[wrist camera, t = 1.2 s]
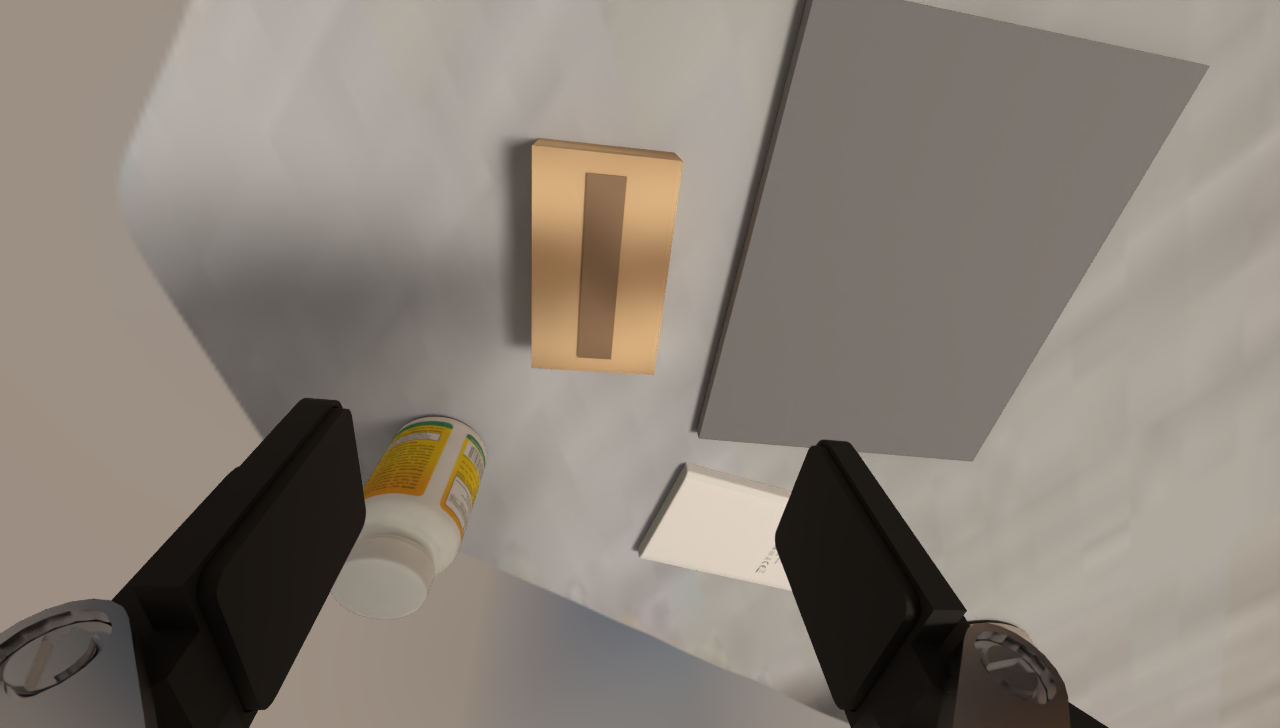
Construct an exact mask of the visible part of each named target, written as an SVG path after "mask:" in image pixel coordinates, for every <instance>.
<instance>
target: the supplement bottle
mask: <svg viewBox="0 0 1280 728" xmlns="http://www.w3.org/2000/svg"><path fill="white" fill-rule="evenodd" d="M485 465H486V450H485V446H484V444H483V442H482V440H481V439H480V437H479V436H478V435H477V433H476V432H475V431H473V430H472V429H471V428H470V427H468V426H467V425H465V424H463V423H461V422H459V421H457V420H454V419H450V418H446V417H425V418H420V419H416V420H414V421H412V422H410V423H408V424H406V425H405V426H404V427H403V428H402V429H400V430H399V432H398V433H397V434H396V436H395V437H394V439H393V441H392V442H391V444H390V446H389V447H388V449H387V450H386V452H385V454H384V455H383V457H382V459H381V460H380V462H379V464H378V465H377V467H376V469H375V470H374V472H373V474H372V475H371V477H370V479H369V480H368V482H367V484H366V485H365V487H364V489H363V493H364V499H365V506H366V519H365V523H364V526H363V529H362V531H361V533H360V535H359V537H358V539H357V541H356V543H355V545H354V547H353V548H352V550H351V552H350V554H349V556H348V558H347V560H346V562H345V564H344V566H343V568H342V570H341V572H340V574H339V576H338V577H337V579H336V581H335V583H334V585H333V587H332V589H331V594H332V595H333V597H334V598H335V600H336V601H337V602H338V603H339V604H340V605H341V606H343V607H344V608H346V609H347V610H349V611H351V612H353V613H355V614H358V615H360V616H363V617H369V618H373V619H396V618H401V617H404V616H407V615H409V614H412V613H413V612H415V611H416V610H418V609H419V608H420V607H421V606H422V605H423V603H424V602H425V600H426V598H427V595H428V592H429V589H430V587H431V584H432V582H433V580H434V576H435V575H437V574H439V573H440V572H442V571H443V570H444V569H445V568H447V567H448V566H449V565H450V563H451V562H452V561H453V559H454V558H455V556H456V554H457V553H458V550H459V547H460V544H461V542H462V539H463V535H464V532H465V529H466V526H467V522H468V519H469V516H470V513H471V510H472V507H473V504H474V500H475V497H476V494H477V491H478V488H479V485H480V482H481V479H482V475H483V472H484V469H485Z"/></svg>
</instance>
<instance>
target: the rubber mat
mask: <svg viewBox="0 0 1280 728" xmlns="http://www.w3.org/2000/svg"><path fill="white" fill-rule="evenodd" d="M1208 68H1209V66H1208V65H1204V64H1199V63H1194V62H1190V61H1185V60H1180V59H1176V58H1171V57H1166V56H1161V55H1157V54H1152V53H1147V52H1143V51H1138V50H1133V49H1129V48H1124V47H1119V46H1115V45H1110V44H1105V43H1101V42H1096V41H1091V40H1087V39H1082V38H1077V37H1073V36H1068V35H1063V34H1058V33H1054V32H1049V31H1044V30H1040V29H1035V28H1030V27H1026V26H1021V25H1016V24H1012V23H1007V22H1002V21H998V20H993V19H988V18H984V17H979V16H974V15H970V14H965V13H960V12H955V11H951V10H946V9H941V8H937V7H932V6H927V5H923V4H918V3H913V2H909V1H904V0H806V4H805V8H804V12H803V16H802V20H801V24H800V28H799V32H798V35H797V39H796V43H795V47H794V51H793V55H792V59H791V63H790V67H789V71H788V75H787V79H786V83H785V86H784V90H783V94H782V98H781V102H780V106H779V110H778V114H777V118H776V122H775V126H774V130H773V134H772V137H771V141H770V145H769V149H768V153H767V157H766V161H765V165H764V169H763V173H762V177H761V181H760V184H759V188H758V192H757V196H756V200H755V204H754V208H753V212H752V216H751V220H750V224H749V228H748V232H747V235H746V239H745V243H744V247H743V251H742V255H741V259H740V263H739V267H738V271H737V275H736V279H735V282H734V286H733V290H732V294H731V298H730V302H729V306H728V310H727V314H726V318H725V322H724V326H723V330H722V333H721V337H720V341H719V345H718V349H717V353H716V357H715V361H714V365H713V369H712V373H711V377H710V381H709V384H708V388H707V392H706V396H705V400H704V404H703V408H702V412H701V416H700V420H699V424H698V428H697V433H698V437H699V439H711V440H723V441H735V442H747V443H759V444H771V445H782V446H794V447H806V448H810V447H811V446H814V445H817V443H818V442H819V441H820V440H823V439H825V440H837V441H847V442H850V443H851V444H852V446H853V447H854V448H855V450H856V451H857V452H866V453H878V454H890V455H902V456H913V457H925V458H937V459H949V460H961V461H973V460H974V458H975V457H976V455H977V453H978V452H979V450H980V448H981V447H982V445H983V443H984V442H985V440H986V438H987V437H988V435H989V433H990V432H991V430H992V428H993V427H994V425H995V423H996V422H997V420H998V418H999V417H1000V415H1001V413H1002V412H1003V410H1004V408H1005V407H1006V405H1007V403H1008V402H1009V400H1010V398H1011V397H1012V395H1013V393H1014V392H1015V390H1016V388H1017V387H1018V385H1019V383H1020V382H1021V380H1022V378H1023V377H1024V375H1025V373H1026V372H1027V370H1028V368H1029V367H1030V365H1031V363H1032V362H1033V360H1034V358H1035V357H1036V355H1037V353H1038V352H1039V350H1040V348H1041V347H1042V345H1043V343H1044V342H1045V340H1046V338H1047V337H1048V335H1049V333H1050V332H1051V330H1052V328H1053V327H1054V325H1055V323H1056V322H1057V320H1058V318H1059V317H1060V315H1061V313H1062V312H1063V310H1064V308H1065V307H1066V305H1067V303H1068V302H1069V300H1070V298H1071V297H1072V295H1073V293H1074V292H1075V290H1076V288H1077V287H1078V285H1079V283H1080V282H1081V280H1082V278H1083V277H1084V275H1085V273H1086V272H1087V270H1088V268H1089V267H1090V265H1091V263H1092V262H1093V260H1094V258H1095V257H1096V255H1097V253H1098V252H1099V250H1100V248H1101V247H1102V245H1103V243H1104V242H1105V240H1106V238H1107V237H1108V235H1109V233H1110V232H1111V230H1112V228H1113V227H1114V225H1115V223H1116V222H1117V220H1118V218H1119V216H1120V215H1121V213H1122V211H1123V210H1124V208H1125V206H1126V205H1127V203H1128V201H1129V200H1130V198H1131V196H1132V195H1133V193H1134V191H1135V190H1136V188H1137V186H1138V185H1139V183H1140V181H1141V180H1142V178H1143V176H1144V175H1145V173H1146V171H1147V170H1148V168H1149V166H1150V165H1151V163H1152V161H1153V160H1154V158H1155V156H1156V155H1157V153H1158V151H1159V150H1160V148H1161V146H1162V145H1163V143H1164V141H1165V140H1166V138H1167V136H1168V135H1169V133H1170V131H1171V130H1172V128H1173V126H1174V125H1175V123H1176V121H1177V120H1178V118H1179V116H1180V115H1181V113H1182V111H1183V110H1184V108H1185V106H1186V105H1187V103H1188V101H1189V100H1190V98H1191V96H1192V95H1193V93H1194V91H1195V90H1196V88H1197V86H1198V85H1199V83H1200V81H1201V80H1202V78H1203V76H1204V75H1205V73H1206V71H1207V70H1208Z"/></svg>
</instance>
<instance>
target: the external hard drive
mask: <svg viewBox="0 0 1280 728" xmlns="http://www.w3.org/2000/svg"><path fill="white" fill-rule="evenodd" d="M790 495H791V491H787V490H784V489H780V488H777V487H773V486H769V485H766V484H762V483H758V482H755V481H751V480H748V479H744V478H741V477H737V476H733V475H730V474H726V473H722V472H719V471H715V470H712V469H708V468H704V467H701V466H697V465H693V464H690V463H685V465H684V467H683V468H682V470H681V472H680V474H679V476H678V477H677V479H676V481H675V483H674V485H673V486H672V488H671V490H670V492H669V494H668V495H667V497H666V499H665V501H664V502H663V504H662V506H661V508H660V510H659V511H658V513H657V515H656V517H655V519H654V520H653V522H652V524H651V526H650V527H649V529H648V531H647V533H646V535H645V536H644V538H643V540H642V542H641V543H640V545H639V547H638V553H639V558H642V559H647V560H652V561H656V562H661V563H665V564H670V565H675V566H679V567H684V568H689V569H693V570H698V571H702V572H707V573H712V574H716V575H721V576H725V577H730V578H735V579H739V580H744V581H748V582H753V583H758V584H762V585H767V586H772V587H776V588H781V589H785V590H789V591H792V589H791V587H790V584H789V581H788V579H787V576H786V574H785V571H784V568H783V566H782V563H781V560H780V558H779V555H778V552H777V550H776V546H775V533H776V530H777V527H778V525H779V522H780V520H781V517H782V515H783V512H784V510H785V507H786V505H787V502H788V500H789V497H790Z"/></svg>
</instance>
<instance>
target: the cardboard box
mask: <svg viewBox="0 0 1280 728" xmlns="http://www.w3.org/2000/svg"><path fill="white" fill-rule="evenodd" d="M682 165H683V161H682V160H681V159H680V158H679V157H678V156H677V155H676V154H675V153H673V152H663V151H654V150H644V149H635V148H626V147H616V146H607V145H598V144H588V143H579V142H570V141H560V140H551V139H542V138H540V139H539V140H537V141H536V142H535V143H534V144H533V145H532V368H545V369H562V370H579V371H596V372H613V373H630V374H647V375H654V370H655V363H656V355H657V348H658V341H659V333H660V326H661V319H662V312H663V304H664V297H665V290H666V282H667V275H668V268H669V260H670V253H671V246H672V238H673V231H674V224H675V217H676V209H677V202H678V195H679V187H680V180H681V173H682Z"/></svg>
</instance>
